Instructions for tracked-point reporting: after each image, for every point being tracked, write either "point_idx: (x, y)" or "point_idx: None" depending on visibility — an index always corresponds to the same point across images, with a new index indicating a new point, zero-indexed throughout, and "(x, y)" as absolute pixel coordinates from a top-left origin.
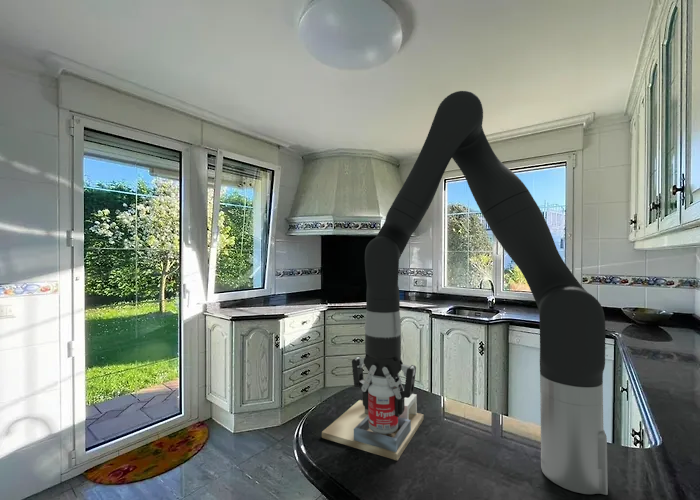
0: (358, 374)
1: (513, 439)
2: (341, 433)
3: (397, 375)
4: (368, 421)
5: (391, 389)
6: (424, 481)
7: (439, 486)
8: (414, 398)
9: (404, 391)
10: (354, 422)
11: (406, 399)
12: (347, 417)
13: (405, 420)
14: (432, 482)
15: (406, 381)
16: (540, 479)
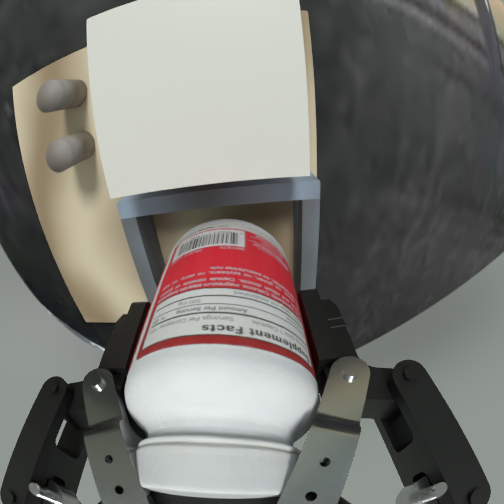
0: (79, 465)
1: None
2: (121, 307)
3: (337, 484)
4: (153, 262)
5: (298, 438)
6: (373, 318)
7: (398, 313)
8: (300, 27)
9: (377, 426)
10: (97, 239)
11: (265, 80)
12: (60, 224)
13: (299, 197)
14: (387, 312)
15: (403, 471)
16: None
